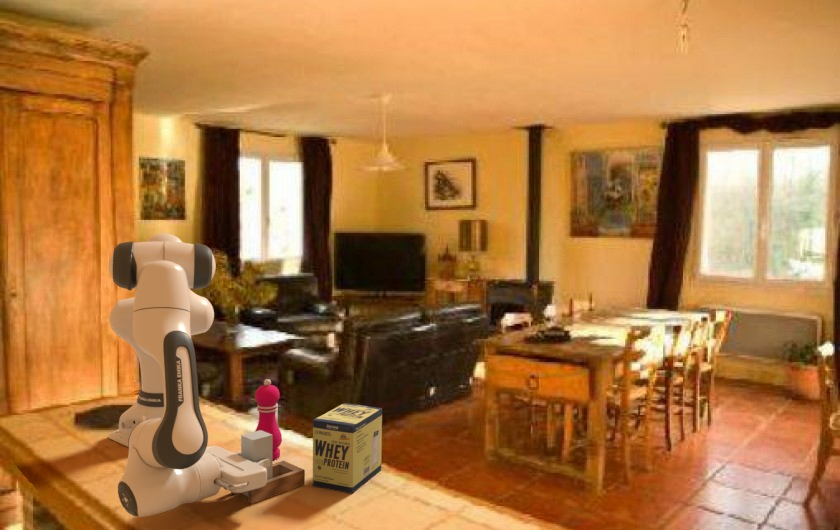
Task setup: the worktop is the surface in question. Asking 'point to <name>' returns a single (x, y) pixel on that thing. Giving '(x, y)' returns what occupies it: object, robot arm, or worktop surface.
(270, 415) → the pepper mill
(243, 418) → the worktop surface
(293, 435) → the worktop surface
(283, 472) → the rack
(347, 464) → the protein box
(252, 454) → the tall white pillar
